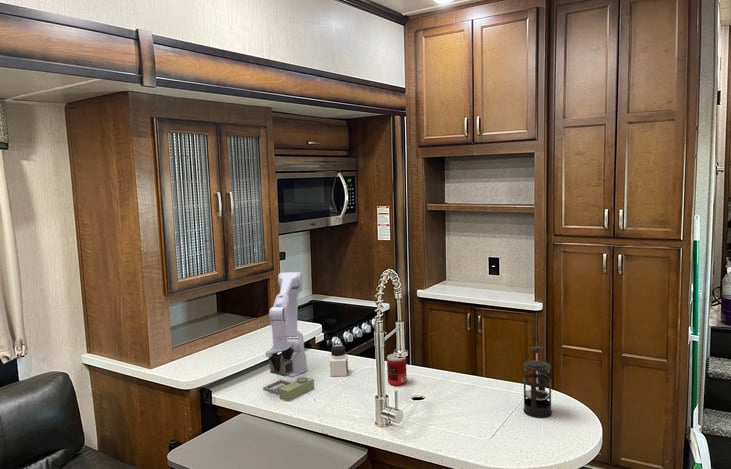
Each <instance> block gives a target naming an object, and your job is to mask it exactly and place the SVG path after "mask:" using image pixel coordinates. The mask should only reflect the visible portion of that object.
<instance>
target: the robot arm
mask: <svg viewBox="0 0 731 469" xmlns="http://www.w3.org/2000/svg"><path fill="white" fill-rule="evenodd" d="M277 278H278V280H277V282H278V286H279V287H280V290H279V293H278V294H277V295H276V296H275V299H274V302H273V306H272V307H270V308H269V311H268V318H269V322H270V326H271V330H272V332H271V333H272V345H271V348H270V349H269V350H266V351H265V357H267V358H268V359H269V362H270V361H271V362H272V365H273V367H274V370H275V371H276V372H279V371H280V359H281V358H285V359H290V360H293V373H291V374H289V375H287V376H289V377H292V378H294V377H297V376H298V375H301V374H303V373H306V372H307V371H309V369H308V364H307V363H308V361H307V354H306V352H305V351H304V348H305V341H304V334H303V333H302V332H300V331H299V330H298V312H299V310H298V308H299V307H298V306H299V304H298V303H299V302H298V301H299V295H300V294H299V293H300V292H302V291H303V284H304V283H303V281H304V280H303V278H304V277H303V273H302V272H301V271H293V272H292V271H291V272H288V271H287V272H279V274H278V276H277ZM280 353H281V355H279V354H280Z"/></svg>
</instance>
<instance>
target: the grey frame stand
mask: <svg viewBox="0 0 731 469" xmlns="http://www.w3.org/2000/svg"><path fill="white" fill-rule="evenodd" d="M279 384H283V385H284V386H282V387H279V388H278V390H277V389H273V387H275V386H277V385H279ZM262 388H263V389H262V390H263V391H266V392H269V393H272V394H275V395H279V399H280V400H283V401H286V402H290V401H292V400H294V399H296V398H298V397H301V396H302V395H304V394H305V395H306V394H307V393H308V392H311V391H313V390H315V379H313V378H312V377H311V378H310V377H307V376H300V377H297V378H296V380H294V381H292V382H291V381H287V380H284V379H279V380H277V381H275V382H272V383H270V384H267V385H265V386H264V387H262Z"/></svg>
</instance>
